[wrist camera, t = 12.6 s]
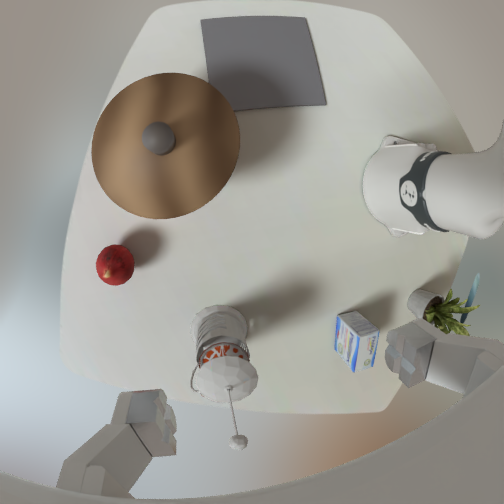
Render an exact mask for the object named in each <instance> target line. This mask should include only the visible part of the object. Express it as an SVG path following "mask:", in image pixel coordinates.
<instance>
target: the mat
mask: <svg viewBox="0 0 504 504" xmlns="http://www.w3.org/2000/svg"><path fill="white" fill-rule="evenodd" d="M201 27H202V34H203V41H204V48H205V55H206V63H207V70H208V76H209V83H210V84H211V85H212V86H213V87H215V88H216V89H217V90H218V91H219V92H220V93H221V94H222V95H223V96H224V97H225V98H226V100H227V101H228V102H229V104H230V105H231V107H232V109H233V111H240V110H249V109H259V108H271V107H287V106H315V105H326V102H325V97H324V93H323V88H322V83H321V79H320V74H319V70H318V65H317V61H316V57H315V53H314V49H313V45H312V41H311V38H310V34H309V30H308V27H307V23H306V20H305V18H303V17H287V16H240V17H224V18H212V19H203V20H201Z"/></svg>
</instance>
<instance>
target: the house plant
mask: <svg viewBox="0 0 504 504" xmlns="http://www.w3.org/2000/svg"><path fill="white" fill-rule="evenodd" d="M451 297H452V289H450V291H449V293H448V295H447V297H446V299H445V300H444V298H443V296H442V295H439V294H435V293H432V292H428V291H425V290H421V289H418V290H416V291H414V292H413V293H412V294H411V295H410V297H409V300H408V308H409V310H410V311H411V312H412V313H413V314H414V315H415V316H416V317H417V318H423V319H424V320H426V321H427V322H429V323H430V324H432V325H433V324H435V327H436V328H439V329H440V330H441V331H442V332H444V333H445V334H448V333H450V331H451V330H453V331H454V332H455V333H456V334H459V335H466V336H470V335H469V333H468V331H467V330H466V329H465V328H464V327H463V326H470V325H466V324H462V323H459V322H458V321H457V320H456V319H453V318H451V317H453V315H452V314H450V313H469V312H470V311H472V310H474V309H476V308H478V307H479V306H480V305H478V306H474V307H466V308H461V307H459V306H461V305H462V304H464V303H465V302H466V301H467V300H468V299H466V300H465V301H464V302H461V303H459V304H457V303H458V302H459V298H456V299H454V300H452V301H450V302H449V300H450V299H451ZM456 304H457V305H456ZM445 324H446V325H447V326H448V329H449V331H448V330H447V327H446V325H445ZM437 325H438V326H437Z"/></svg>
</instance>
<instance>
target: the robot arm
mask: <svg viewBox="0 0 504 504" xmlns="http://www.w3.org/2000/svg"><path fill="white" fill-rule="evenodd" d="M394 142H395V145H394ZM363 193H364V198H365V202H366V204H367V207H368V209H369V210H370V212H371V214H372V215H373V216H374V217H375V218H376V219H377V220H378V221H380V222H381V223H383V224H384V225H386V226H387V228H388V229H389V231H390V233H391V234H392V235H393V236H394V237H401V236H403V235H405V234H407V233H414V234H420V235H422V234H424V232H427V231H428V230H430V229H431V230H434V231H439V232H441V231H442V232H449V231H452V232H456V233H460V234H463V235H467V236H470V237H474V238H477V239H485V238H488V237H490V236H492V235H493V234H494V233H496V232H497V231H498V230H499V229H500V228H501V226H502V225H503V223H504V121H503V125H502V131H501V134H500V136H499V138H498V140H497V141H496V143H495V144H494V145H493V146H491V147H490V148H488V149H487V150H484V151H482V152H475V153H465V154H451V153H448V152H443V151H438V150H437V149H436V145H435V144H424V143H414V142H411V141H408V140H404V139H401V138H397V137H393V136H386V137H384V139H383V141H382V143H381V146H380V149H379V150H378V151H377V152H376V153H375V154H374V155H373V156H372V157H371V159H370V160H369V162H368V164H367V166H366V169H365V172H364V177H363ZM386 341H387V342H388V343H389V345H388V347H387V349H386V350H385V360H386V364H387V366H388V367H389V369H390V370H391V371H392V372H394V373H398V374H399V379H400V380H401V381H402V382H403V383H404V384H405V385H406V386H407V387H408V388H410V387H412V386H414V385H416V384H417V383H420V382H422V381H424V380H425V379H426V381H428V382H431V383H434V384H437V385H440V386H442V387H445V388H448V389H451V390H454V391H457V392H460V393H463V394H464V395H463V398H462V399H461V400H460V401H459V402H457V403H456V404H454V405H453V406H452V407H450V408H449V409H447V410H446V411H444V412H443V413H441V414H440V415H438V416H437V417H435V418H433V419H432V420H430V421H429V422H427V423H425V424H424V425H422V426H420V427H419V428H417V429H416V430H414V431H412V432H410V433H408V434H407V435H405V436H403V437H401V438H399V439H397V440H396V441H394V442H392V443H389V444H388V445H386V446H384V447H382V448H379V449H377V450H375V451H373V452H371V453H369V454H366V455H364V456H362V457H359V458H357V459H355V460H352V461H350V462H347V463H345V464H342V465H340V466H337V467H334V468H332V469H329V470H326V471H323V472H320V473H317V474H314V475H311V476H308V477H305V478H301V479H298V480H294V481H290V482H287V483H283V484H279V485H275V486H270V487H266V488H261V489H257V490H252V491H246V492H240V493H234V494H227V495H220V496H210V497H201V498H186V499H135V498H134V497H133V496H132V495H131V494H130V493H128V492H129V490H130V489H131V488H132V486H133V485H134V484H135V482H136V481H137V480H138V478H139V477H140V475H141V474H142V472H143V471H144V470H145V468H146V467H147V466H148V464H149V463H150V461H151V460H152V457H159V456H171V455H176V439H175V437H174V436H173V434H174V433H175V432H176V419H175V415H174V412H173V409H172V407H171V406H170V405H168V404H167V403H166V401H167V397H166V395H165V393H164V391H163V390H162V389H155V390H143V391H131V392H121V393H120V394H119V396H118V400H117V403H116V406H115V410H114V413H113V417H112V420H111V424H107V425H106V426H104V427H103V428H102V429H101V430H100V431H99V432H98V433H96V434H95V435H94V436H93V437H92V438H90V439H89V440H88V441H87V442H86V443H85V444H83V445H82V446H81V447H80V448H79V449H78V450H76V451H75V452H74V453H73V454H72V455H71V456H69V457H68V458H67V459H66V460H65V461H64V463H63V466H62V469H61V472H60V476H59V479H58V482H57V486H56V488H54V487H50V486H46V485H43V484H39V483H35V482H32V481H29V480H25V479H22V478H19V477H16V476H13V475H11V474H8V473H5V472H2V471H0V504H504V344H503V343H502V342H500V341H499V340H496V339H488V338H480V337H473V336H466V335H459V334H451V333H448V334H445V333H444V332H442V331H441V330H439V329H438V328H436V327H435V326H433V325H432V324H430V323H429V322H427V321H426V320H424V319H423V318H418V319H415V320H413V321H411V322H409V323H407V324H405V325H403V326H400V327H398V328H396V329H393V330H391V331H389V332H388V334H387V340H386Z"/></svg>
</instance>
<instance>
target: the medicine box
mask: <svg viewBox="0 0 504 504" xmlns="http://www.w3.org/2000/svg"><path fill="white" fill-rule="evenodd" d="M379 331H380V330H379V329H378V328H376V327H375V326H374V325H373V324H372V323H370V322H369V321H368V320H367V319H366V318H364V317H363V316H362V315H361V314H360V313H358V312H357V311H354V312H350V313H345V314H341V315H338V316H337V326H336V338H335V350H336V352H337V353H338V354H339V355H340V356H341V358H342V359H343V360H344V361H345V363H346V364H347V365H348V366H349V367H350V369H351V370H352V371H353V372H357V371H361V370H364V369H367V368H370V367H373V364H374V359H375V354H376V348H377V343H378V337H379Z"/></svg>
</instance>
